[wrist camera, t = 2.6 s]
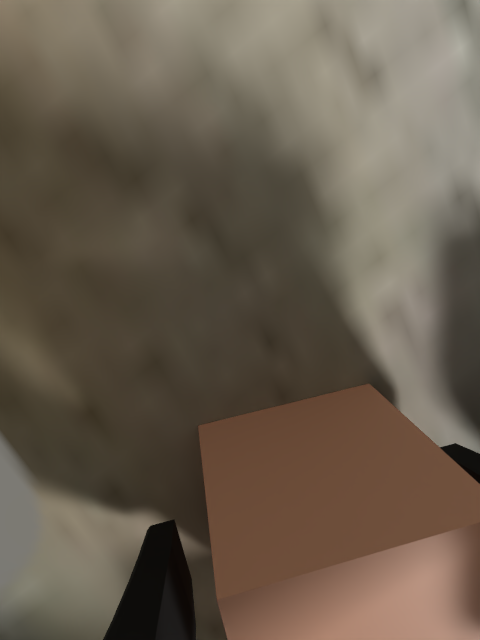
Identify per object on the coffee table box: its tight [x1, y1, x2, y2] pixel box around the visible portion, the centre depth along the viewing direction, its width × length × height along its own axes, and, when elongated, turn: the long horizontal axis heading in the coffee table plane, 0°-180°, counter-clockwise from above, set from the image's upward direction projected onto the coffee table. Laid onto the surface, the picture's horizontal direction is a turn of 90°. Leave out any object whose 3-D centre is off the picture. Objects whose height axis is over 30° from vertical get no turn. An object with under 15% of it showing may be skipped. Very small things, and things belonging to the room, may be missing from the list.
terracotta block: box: [198, 384, 480, 640], centre depth 9 cm, size 5×5×5 cm
